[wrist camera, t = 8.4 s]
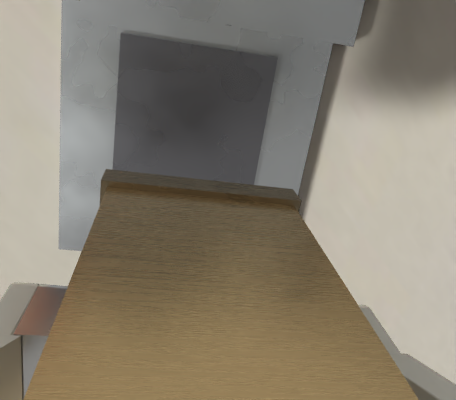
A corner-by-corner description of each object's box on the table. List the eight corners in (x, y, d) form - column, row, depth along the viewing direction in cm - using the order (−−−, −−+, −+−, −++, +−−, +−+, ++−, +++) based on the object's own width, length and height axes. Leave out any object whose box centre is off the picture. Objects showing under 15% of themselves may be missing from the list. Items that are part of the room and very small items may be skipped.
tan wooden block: (292, 188, 11) (445, 407, 5) (259, 335, 13) (342, 636, 7) (105, 169, 11) (3, 396, 4) (97, 327, 12) (15, 659, 6)
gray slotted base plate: (403, -110, 19) (435, -127, 17) (309, 259, 26) (321, 282, 24) (44, -194, 17) (23, -227, 14) (45, 236, 23) (30, 260, 21)
